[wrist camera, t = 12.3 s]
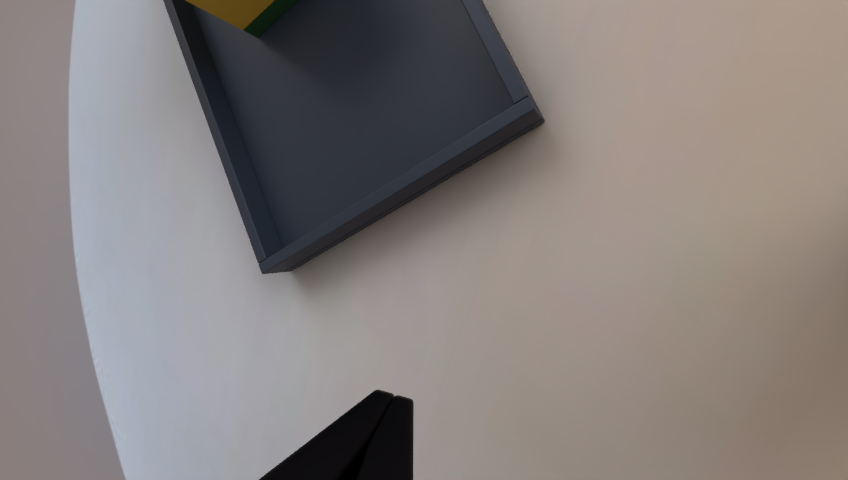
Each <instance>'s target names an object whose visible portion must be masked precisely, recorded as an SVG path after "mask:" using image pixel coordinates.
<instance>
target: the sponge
mask: <svg viewBox="0 0 848 480" xmlns="http://www.w3.org/2000/svg"><path fill="white" fill-rule="evenodd" d="M185 1H187V2H189V3H191V4H193V5H195V6H197V7H199V8H201V9H203V10H205V11H206V12H208V13H210V14H212V15H214V16H216V17H218V18H220V19H222V20H224V21H226V22H227V23H229V24H231V25H233V26H235V27H237V28H239V29H241V30H244V31H245V32H247V33H249V34H251V35H253V36H255V37H259V36H260V35H261V34H262V33H263V32H264V31H265V30H266V29H267V28H268V27H269V26H271V25H272V24H273V23H274V22H275V21H276V20H277V19H278V18H279V17H280V16H281V15H282V14H284V13H285V12H286V11H287V10H288V9H289V8H290V7H291V6H292V5H293V4H294V3H296V2H297V1H298V0H185Z"/></svg>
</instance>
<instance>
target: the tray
mask: <svg viewBox="0 0 848 480" xmlns="http://www.w3.org/2000/svg"><path fill="white" fill-rule="evenodd" d="M164 3H165V6H166V9H167V12H168V14H169V17H170V20H171V23H172V25H173V28H174V31H175V34H176V36H177V39H178V42H179V45H180V48H181V50H182V53H183V56H184V59H185V61H186V64H187V67H188V70H189V73H190V75H191V78H192V81H193V84H194V86H195V89H196V92H197V95H198V98H199V100H200V103H201V106H202V109H203V111H204V114H205V117H206V120H207V122H208V125H209V128H210V131H211V134H212V136H213V139H214V142H215V145H216V147H217V150H218V153H219V156H220V159H221V161H222V164H223V167H224V170H225V172H226V175H227V178H228V181H229V184H230V186H231V189H232V192H233V195H234V197H235V200H236V203H237V206H238V208H239V211H240V214H241V217H242V220H243V222H244V225H245V228H246V231H247V233H248V236H249V239H250V242H251V245H252V247H253V250H254V253H255V256H256V258H257V261H258V263H259V266H260V269H261V272H262V274H267V273H277V272H287V271H292V270H294V269H295V268H297V267H299V266H300V265H302V264H304V263H306V262H307V261H309V260H311V259H312V258H314V257H316V256H317V255H319V254H321V253H323V252H324V251H326V250H328V249H329V248H331V247H333V246H334V245H336V244H338V243H340V242H341V241H343V240H345V239H346V238H348V237H350V236H352V235H353V234H355V233H357V232H358V231H360V230H362V229H363V228H365V227H367V226H369V225H370V224H372V223H374V222H375V221H377V220H379V219H380V218H382V217H384V216H386V215H387V214H389V213H391V212H392V211H394V210H396V209H397V208H399V207H401V206H403V205H404V204H406V203H408V202H409V201H411V200H413V199H414V198H416V197H418V196H420V195H421V194H423V193H425V192H426V191H428V190H430V189H431V188H433V187H435V186H437V185H438V184H440V183H442V182H443V181H445V180H447V179H449V178H450V177H452V176H454V175H455V174H457V173H459V172H460V171H462V170H464V169H466V168H467V167H469V166H471V165H472V164H474V163H476V162H477V161H479V160H481V159H483V158H484V157H486V156H488V155H489V154H491V153H493V152H494V151H496V150H498V149H500V148H501V147H503V146H505V145H506V144H508V143H510V142H511V141H513V140H515V139H517V138H518V137H520V136H522V135H523V134H525V133H527V132H529V131H530V130H532V129H534V128H535V127H537V126H539V125H540V124H542V123H544V122H545V120H544V118H543V116H542V114H541V112H540V110H539V108H538V106H537V105H536V103H535V101H534V99H533V97H532V95H531V93H530V91H529V89H528V87H527V85H526V84H525V82H524V80H523V78H522V76H521V74H520V72H519V70H518V68H517V66H516V64H515V62H514V61H513V59H512V57H511V55H510V53H509V51H508V49H507V47H506V45H505V43H504V41H503V40H502V38H501V36H500V34H499V32H498V30H497V28H496V26H495V24H494V22H493V20H492V18H491V17H490V15H489V13H488V11H487V9H486V7H485V5H484V3H483V1H482V0H298V1H297V2H296V3H294V4H293V5H292V6H291V7H290V8H289V9H288V10H287V11H286V12H285V13H284V14H282V15H281V16H280V17H279V18H278V19H277V20H276V21H275V22H274V23H273V24H272V25H271V26H269V27H268V28H267V29H266V30H265V31H264V32H263V33H262V34H261V35H260V36H259V37H255V36H253V35H251V34H249V33H247V32H245V31H244V30H241V29H239V28H237V27H235V26H233V25H231V24H229V23H227V22H226V21H224V20H222V19H220V18H218V17H216V16H214V15H212V14H210V13H208V12H206V11H205V10H203V9H201V8H199V7H197V6H195V5H193V4H191V3H189V2H187V1H185V0H164Z"/></svg>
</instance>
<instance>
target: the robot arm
mask: <svg viewBox="0 0 848 480" xmlns="http://www.w3.org/2000/svg"><path fill="white" fill-rule="evenodd" d="M259 480H413V400H412V399H409V398H406V397H402V396H399V395H397V396H395V397H394V395H393V394H392V393H388V392H385V391H381V390H375V391H374V392H372V393H371V394H370V395H368V396H367V397H366V398H364V399H363V400H362V401H361V402H359V403H358V404H357V405H355V406H354V407H353V408H351V409H350V410H349V411H348V412H346V413H345V414H344V415H342V416H341V417H340V418H338V419H337V420H336V421H335V422H333V423H332V424H331V425H329V426H328V427H327V428H325V429H324V430H323V431H322V432H320V433H319V434H318V435H316V436H315V437H314V438H312V439H311V440H310V441H309V442H307V443H306V444H305V445H303V446H302V447H301V448H299V449H298V450H297V451H296V452H294V453H293V454H292V455H290V456H289V457H288V458H286V459H285V460H284V461H282V462H281V463H280V464H279V465H277V466H276V467H275V468H273V469H272V470H271V471H269V472H268V473H267V474H266V475H264V476H263V477H262V478H260V479H259Z"/></svg>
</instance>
